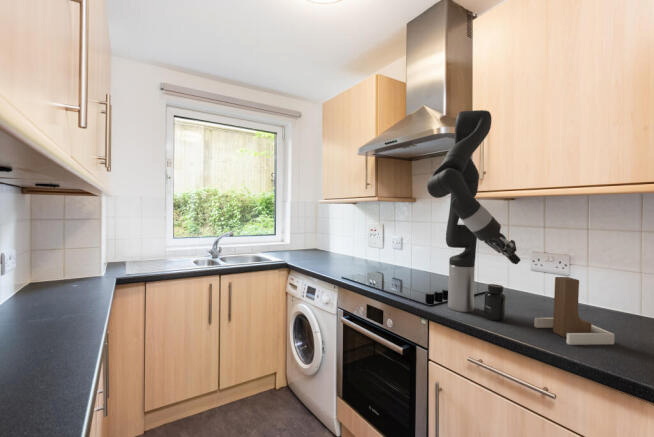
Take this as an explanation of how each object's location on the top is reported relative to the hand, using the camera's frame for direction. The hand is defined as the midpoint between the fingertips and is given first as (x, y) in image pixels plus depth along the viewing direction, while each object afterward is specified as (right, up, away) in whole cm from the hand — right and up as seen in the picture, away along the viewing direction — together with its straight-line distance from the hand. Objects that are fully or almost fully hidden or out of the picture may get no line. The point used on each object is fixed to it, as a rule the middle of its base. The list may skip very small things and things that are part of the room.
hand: (516, 261), depth 96 cm
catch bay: (+19, -23, +2) cm, 30 cm away
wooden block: (+19, -24, +2) cm, 30 cm away
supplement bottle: (+2, -23, +16) cm, 28 cm away
